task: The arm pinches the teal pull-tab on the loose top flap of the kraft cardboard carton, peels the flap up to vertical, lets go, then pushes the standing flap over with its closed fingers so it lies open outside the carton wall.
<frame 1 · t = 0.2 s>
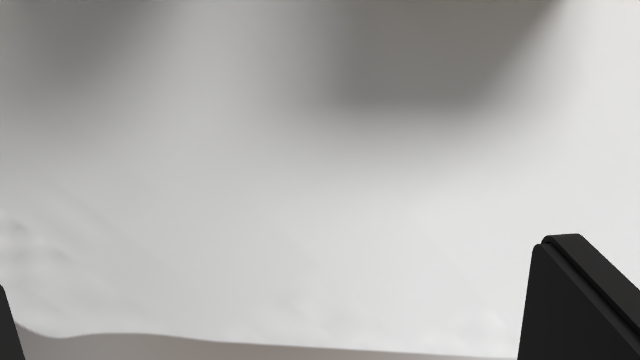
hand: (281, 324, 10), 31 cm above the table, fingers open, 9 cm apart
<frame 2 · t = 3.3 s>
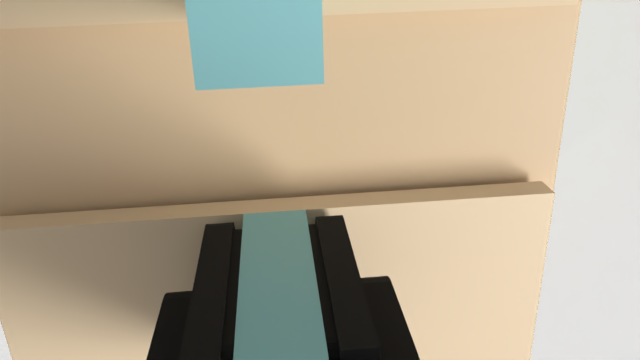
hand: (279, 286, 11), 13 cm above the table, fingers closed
carton: (265, 22, 22), on the table
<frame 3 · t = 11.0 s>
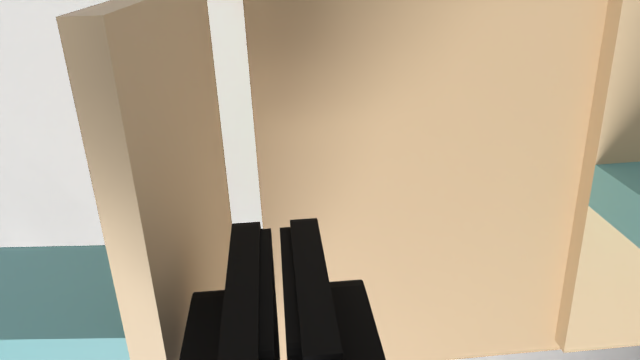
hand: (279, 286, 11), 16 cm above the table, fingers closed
carton: (412, 79, 27), on the table
flap: (81, 270, 12), point 15 cm above the table, hinge at 96.7°, touching gripper
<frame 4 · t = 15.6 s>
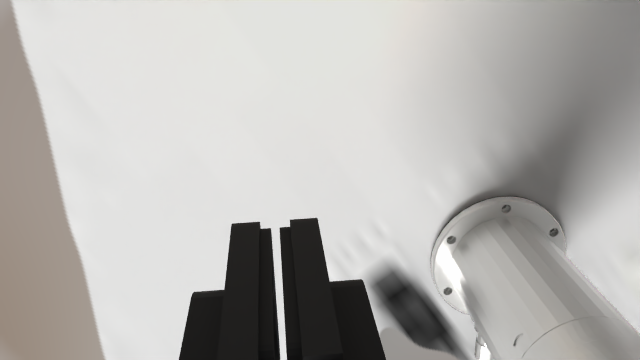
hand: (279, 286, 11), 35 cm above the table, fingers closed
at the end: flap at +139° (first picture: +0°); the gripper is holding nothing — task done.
